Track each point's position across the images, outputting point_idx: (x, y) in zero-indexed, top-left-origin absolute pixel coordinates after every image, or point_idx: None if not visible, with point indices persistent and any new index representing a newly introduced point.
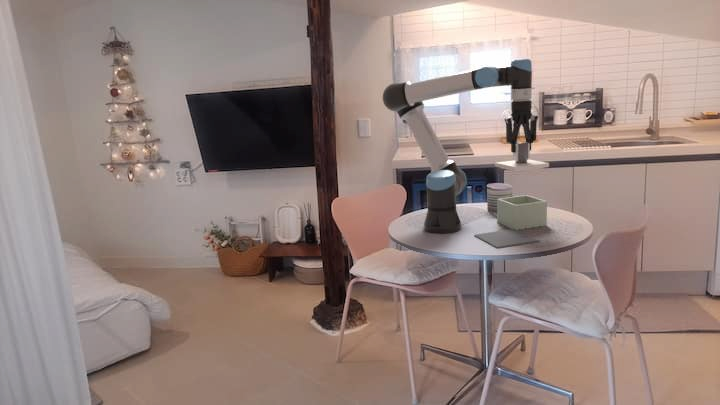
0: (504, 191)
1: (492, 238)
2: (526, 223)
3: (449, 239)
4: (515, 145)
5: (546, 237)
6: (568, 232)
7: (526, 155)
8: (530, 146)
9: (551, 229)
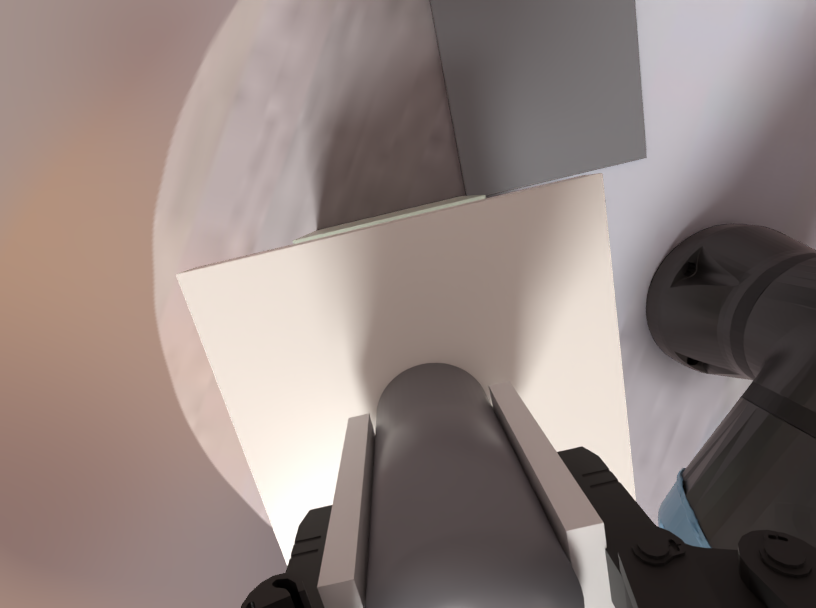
0: None
1: (600, 79)
2: (411, 208)
3: (750, 135)
4: (600, 532)
5: (378, 53)
6: (264, 103)
7: (394, 420)
8: (302, 562)
9: (317, 168)
